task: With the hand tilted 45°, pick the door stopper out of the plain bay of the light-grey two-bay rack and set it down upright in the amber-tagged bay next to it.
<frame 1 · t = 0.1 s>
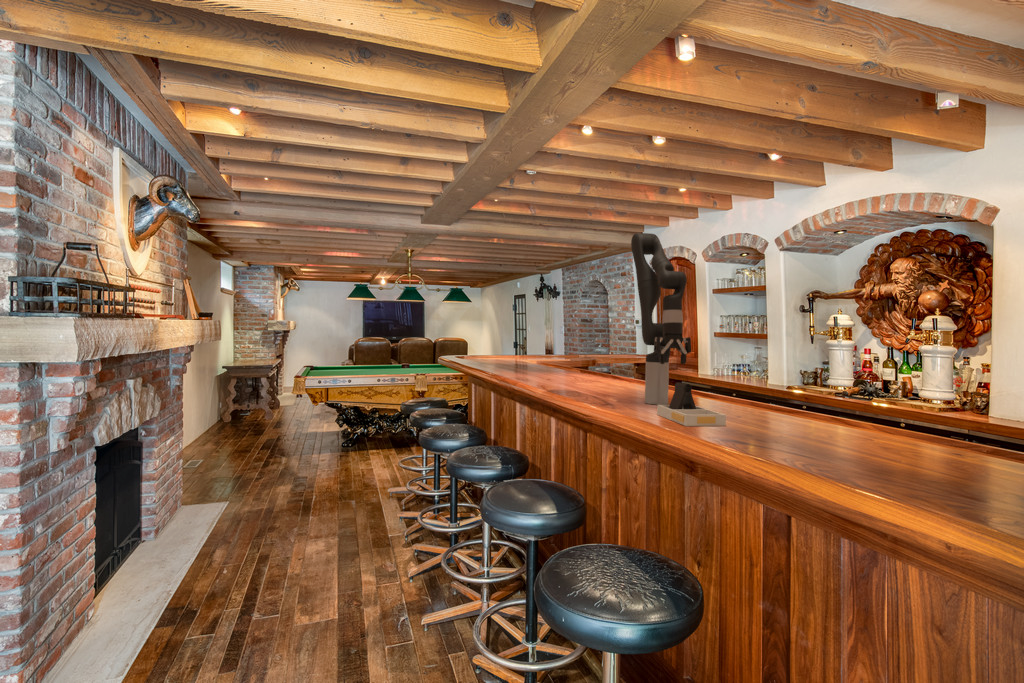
hand: (672, 364, 188), 17 cm above the table, tool pointing down, fingers open, 8 cm apart
rack: (689, 419, 164), on the table
door stopper: (682, 417, 169), resting in rack
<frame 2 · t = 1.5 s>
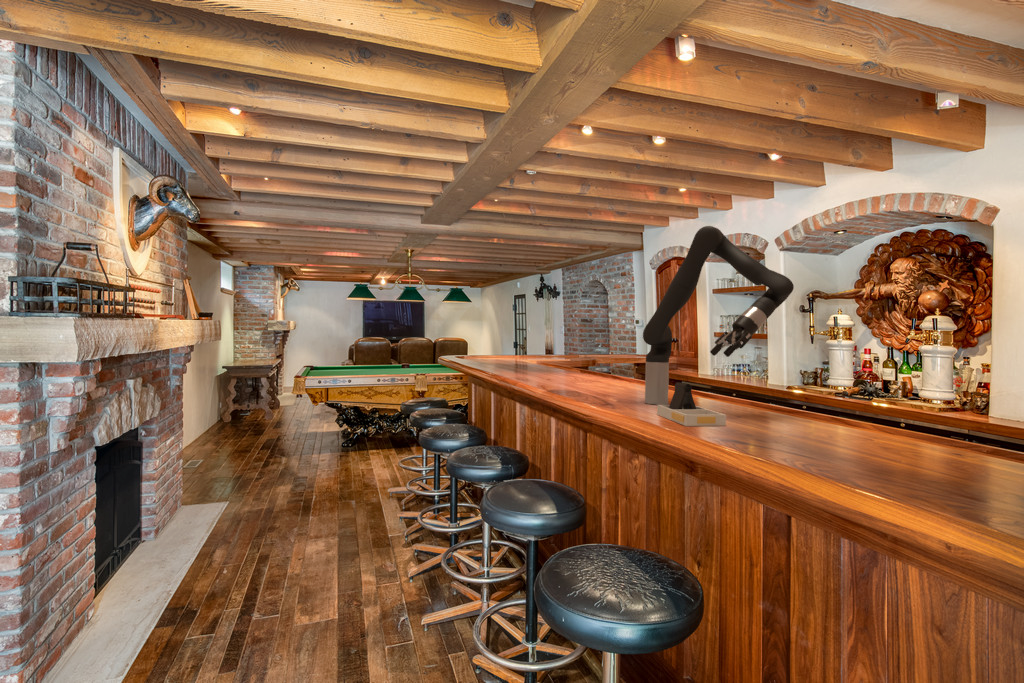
hand: (718, 354, 171), 22 cm above the table, tool tilted 45°, fingers open, 8 cm apart
nothing on the table moved.
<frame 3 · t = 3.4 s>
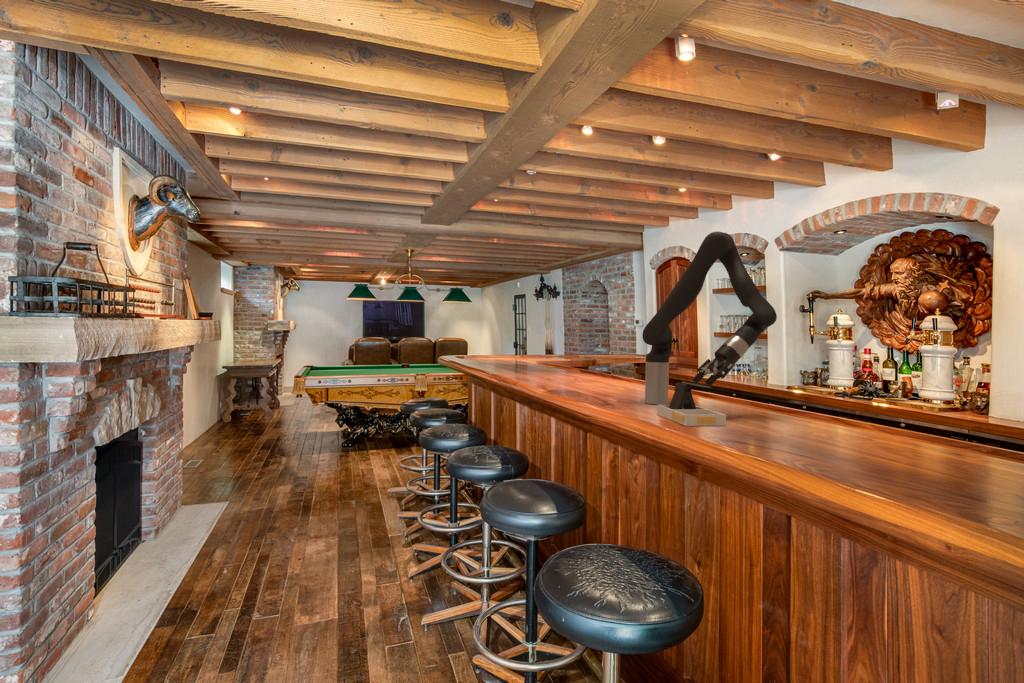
hand: (700, 383, 170), 12 cm above the table, tool tilted 45°, fingers open, 8 cm apart
nothing on the table moved.
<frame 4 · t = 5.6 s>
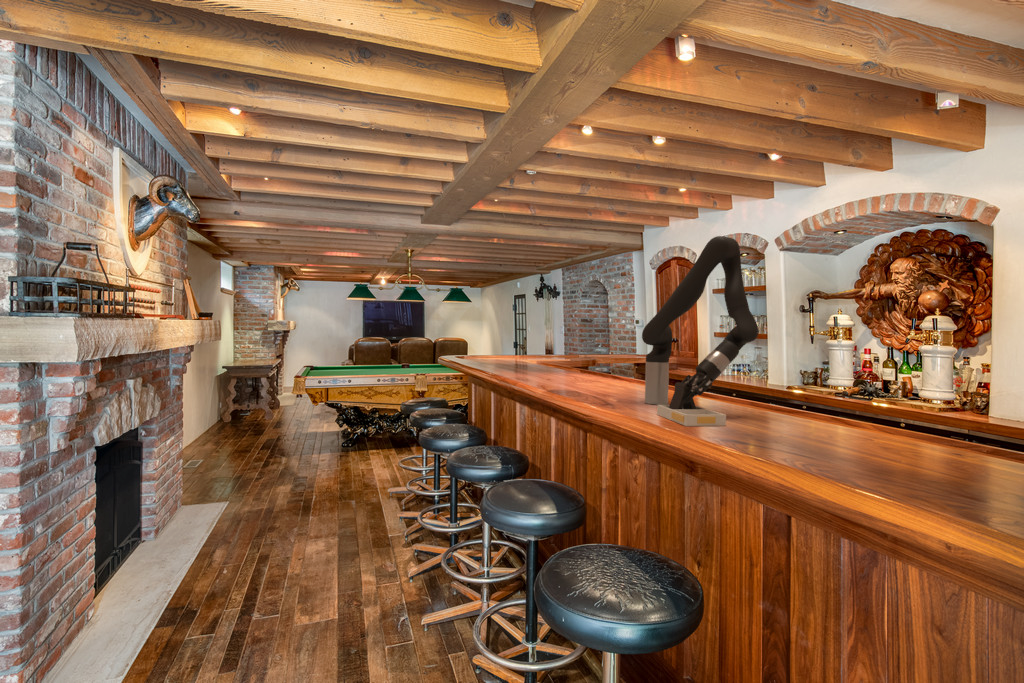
hand: (680, 399, 169), 6 cm above the table, tool tilted 45°, fingers closed on door stopper, 6 cm apart
door stopper: (682, 417, 169), resting in rack, touching gripper
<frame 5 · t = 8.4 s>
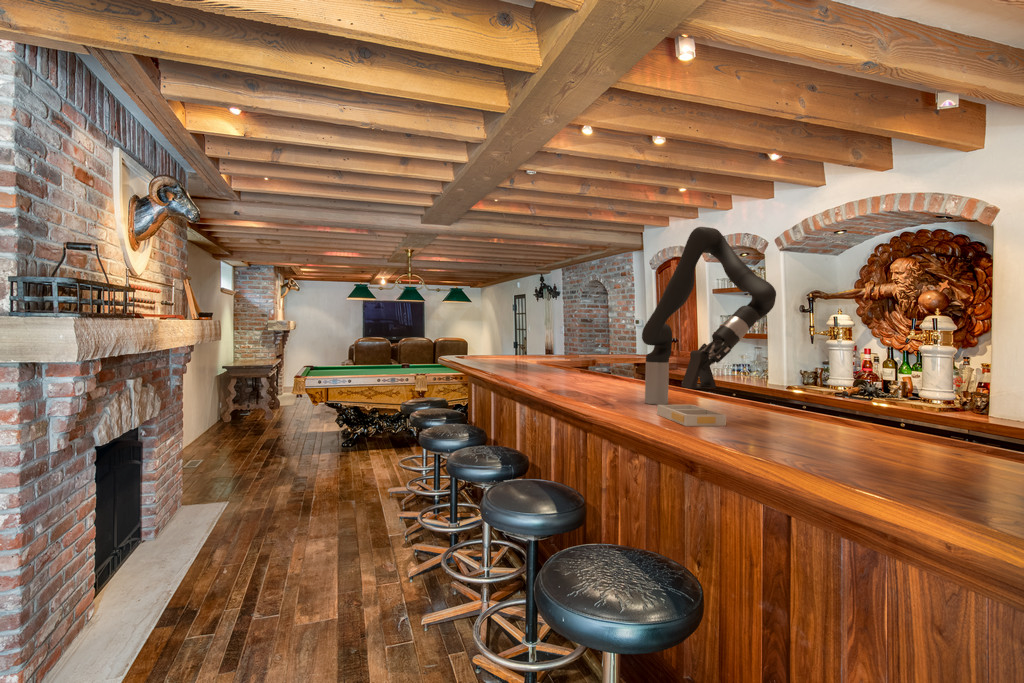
hand: (696, 368, 159), 18 cm above the table, tool tilted 45°, fingers closed on door stopper, 6 cm apart
door stopper: (698, 387, 159), point 11 cm above the table, touching gripper
when the fingers open (7 cm above the table, at t = 11.1 s): door stopper drops 1 cm, resting in rack.
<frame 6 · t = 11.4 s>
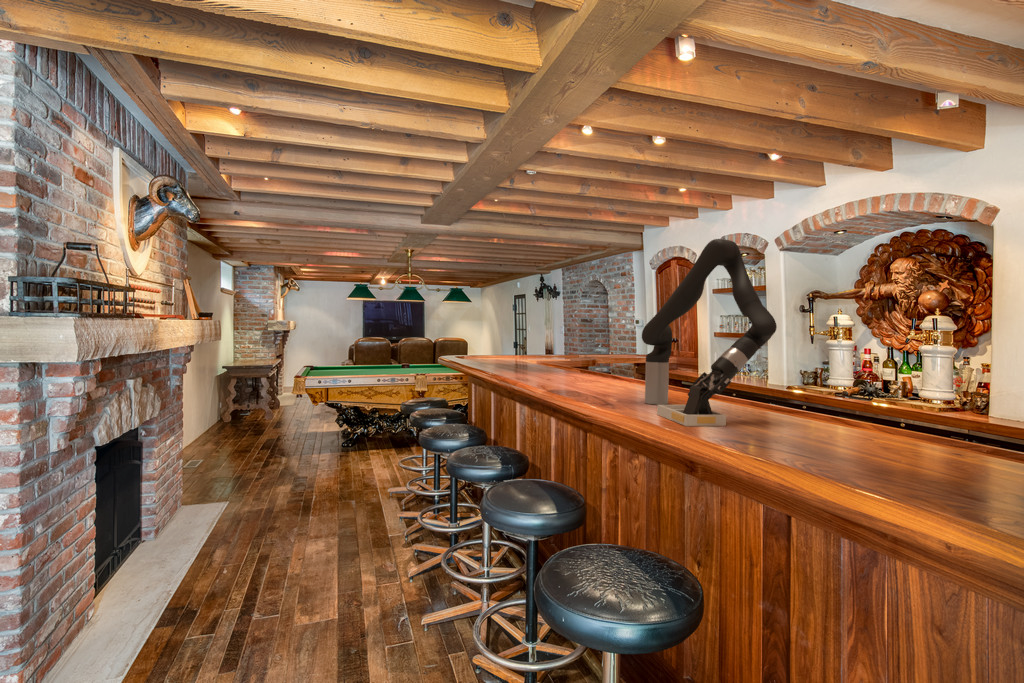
hand: (695, 398, 159), 8 cm above the table, tool tilted 45°, fingers open, 8 cm apart
door stopper: (697, 423, 160), resting in rack
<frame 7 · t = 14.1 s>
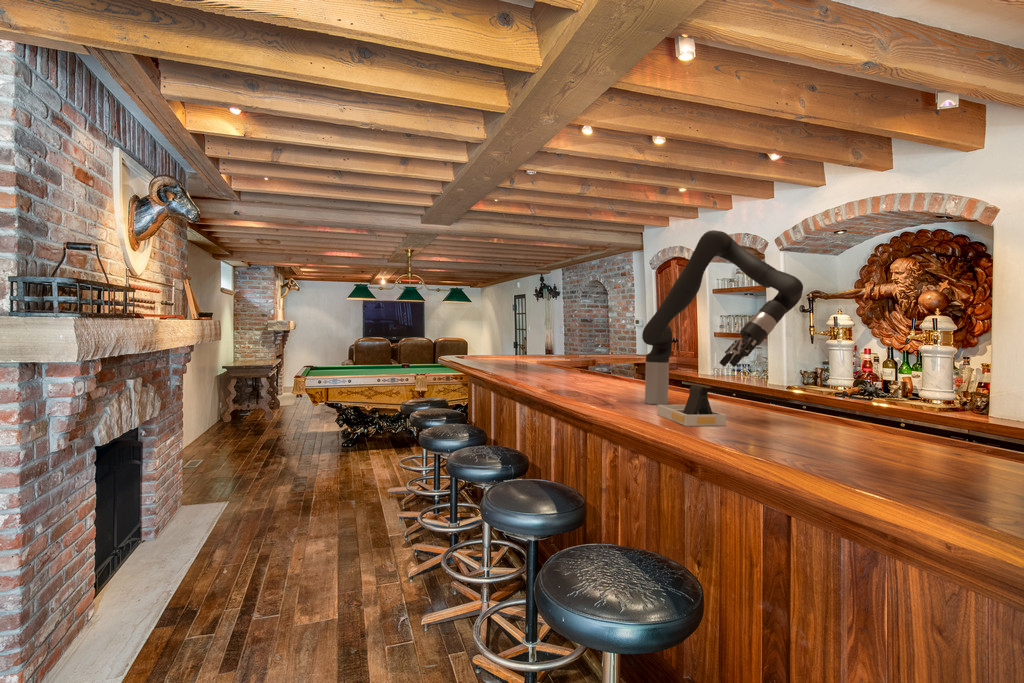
hand: (726, 364, 163), 19 cm above the table, tool tilted 40°, fingers open, 8 cm apart
nothing on the table moved.
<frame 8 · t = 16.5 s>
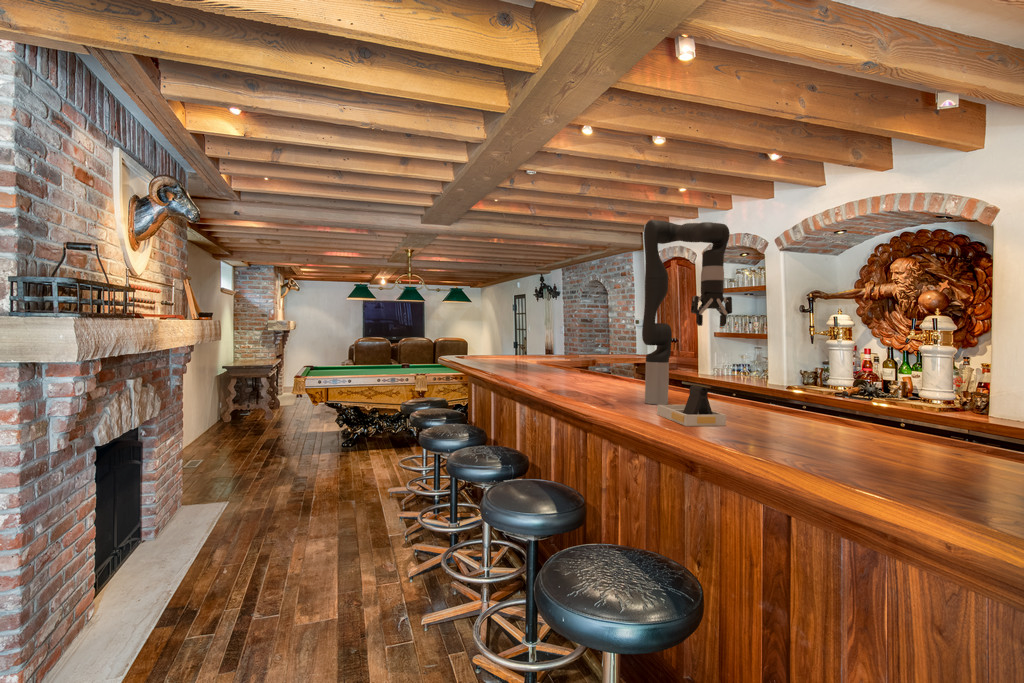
hand: (711, 325, 172), 32 cm above the table, tool pointing down, fingers open, 8 cm apart
nothing on the table moved.
at the end: door stopper 0.2 cm from the target spot on the rack, point 0.0 cm above the rack's base; door stopper tilted 0°; the gripper is holding nothing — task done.
